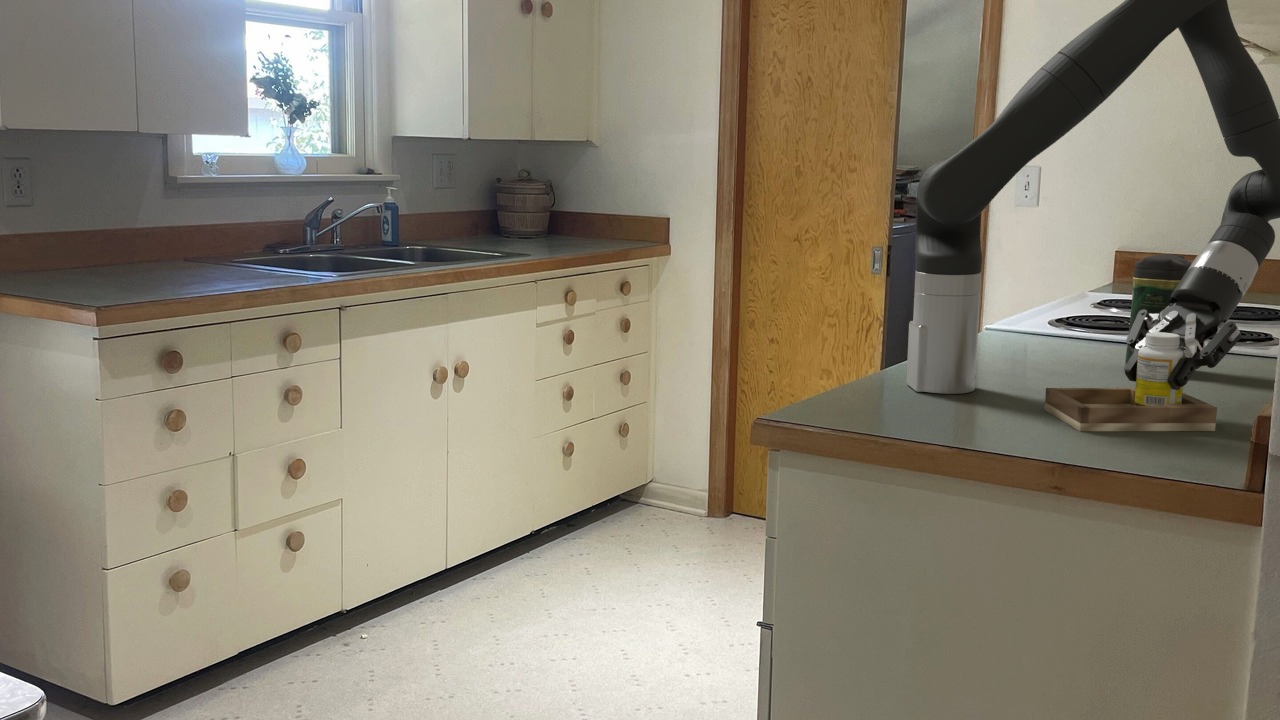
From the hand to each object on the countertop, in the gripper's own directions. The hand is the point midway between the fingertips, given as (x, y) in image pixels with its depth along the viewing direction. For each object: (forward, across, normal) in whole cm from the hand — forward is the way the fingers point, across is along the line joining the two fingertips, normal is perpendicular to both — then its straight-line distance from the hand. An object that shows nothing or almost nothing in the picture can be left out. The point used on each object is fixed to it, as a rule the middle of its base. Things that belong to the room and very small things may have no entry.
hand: (1150, 381), depth 145 cm
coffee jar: (-19, -22, +27) cm, 39 cm away
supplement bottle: (+2, 0, +4) cm, 5 cm away
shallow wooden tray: (+5, -2, +2) cm, 6 cm away
